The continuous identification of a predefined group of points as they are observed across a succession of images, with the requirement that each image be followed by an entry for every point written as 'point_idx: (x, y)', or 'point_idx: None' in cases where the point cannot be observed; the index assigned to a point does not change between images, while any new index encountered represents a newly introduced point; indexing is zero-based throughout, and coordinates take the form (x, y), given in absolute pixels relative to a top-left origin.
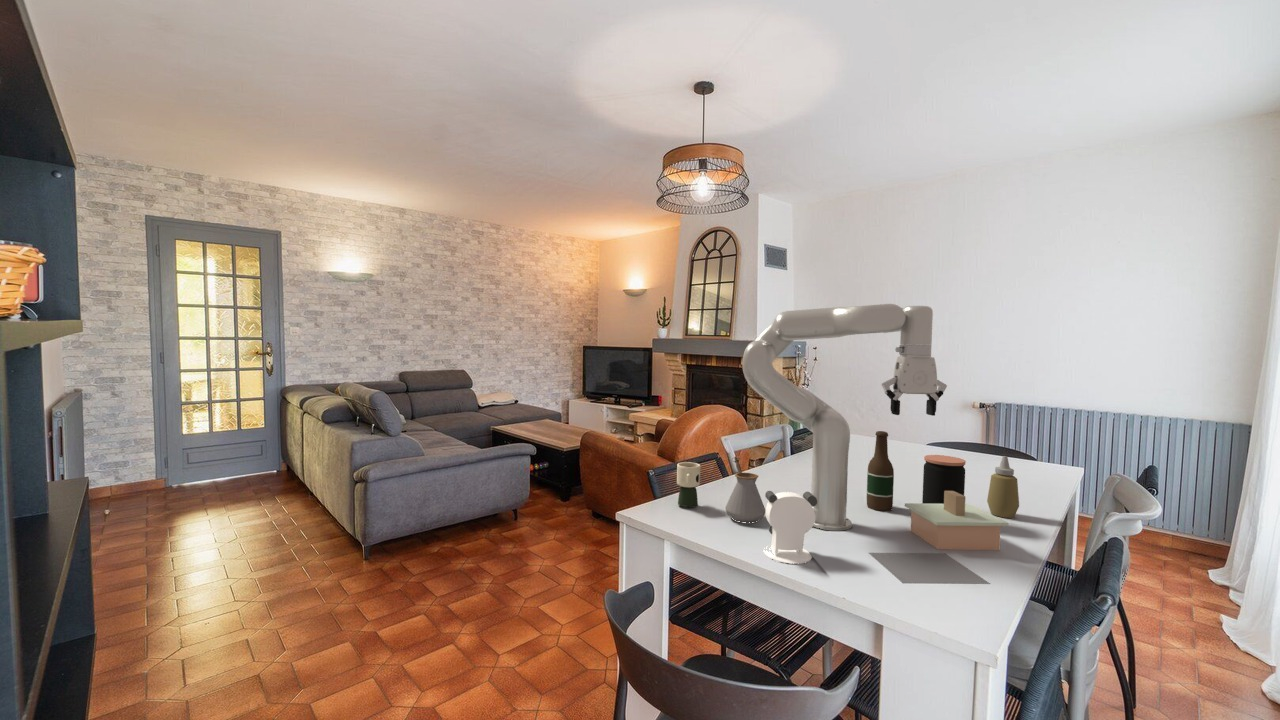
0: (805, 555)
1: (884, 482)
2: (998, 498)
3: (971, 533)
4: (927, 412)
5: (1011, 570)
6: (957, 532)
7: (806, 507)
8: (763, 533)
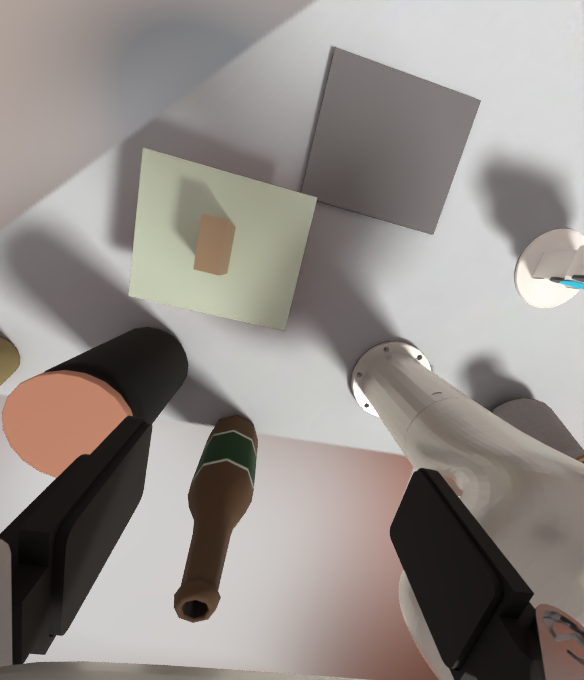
0: (534, 254)
1: (234, 452)
2: None
3: None
4: (138, 492)
5: (231, 101)
6: None
7: None
8: (523, 358)
